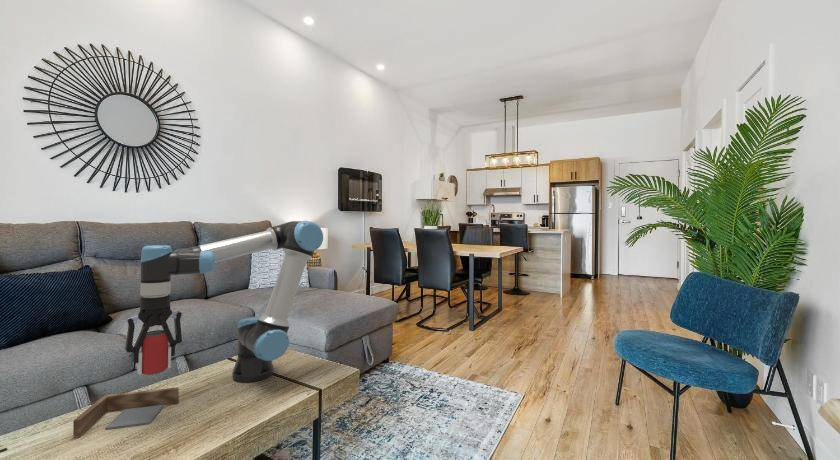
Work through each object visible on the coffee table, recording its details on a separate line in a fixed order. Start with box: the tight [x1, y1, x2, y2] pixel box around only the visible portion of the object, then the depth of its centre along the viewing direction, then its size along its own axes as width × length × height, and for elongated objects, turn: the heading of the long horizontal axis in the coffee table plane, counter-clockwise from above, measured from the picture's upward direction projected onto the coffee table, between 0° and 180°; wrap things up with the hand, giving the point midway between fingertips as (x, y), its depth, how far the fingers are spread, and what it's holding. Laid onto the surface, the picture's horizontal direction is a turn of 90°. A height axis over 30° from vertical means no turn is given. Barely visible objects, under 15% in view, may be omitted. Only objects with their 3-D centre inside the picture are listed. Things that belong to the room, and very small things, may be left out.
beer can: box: [140, 329, 169, 376], centre depth 110 cm, size 7×7×12 cm
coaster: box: [105, 405, 165, 431], centre depth 111 cm, size 11×11×1 cm
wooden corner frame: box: [72, 386, 180, 439], centre depth 110 cm, size 21×16×5 cm
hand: (154, 369), depth 110 cm, fingers closed on beer can, 6 cm apart
